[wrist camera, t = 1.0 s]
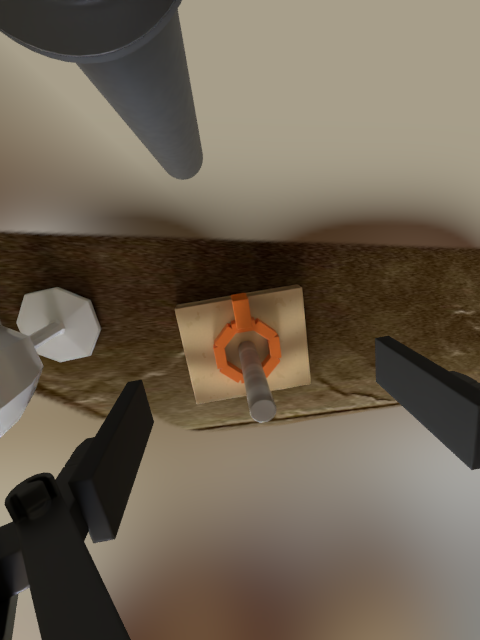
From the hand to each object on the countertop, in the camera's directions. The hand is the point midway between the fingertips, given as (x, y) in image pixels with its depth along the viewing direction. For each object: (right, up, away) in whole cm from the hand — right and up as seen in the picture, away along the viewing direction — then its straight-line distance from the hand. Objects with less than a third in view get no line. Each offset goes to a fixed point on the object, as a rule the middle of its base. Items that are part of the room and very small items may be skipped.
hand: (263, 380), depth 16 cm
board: (-1, +1, +19) cm, 19 cm away
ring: (-1, +1, +16) cm, 17 cm away
